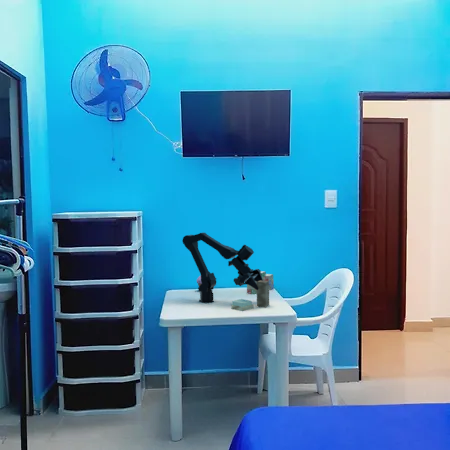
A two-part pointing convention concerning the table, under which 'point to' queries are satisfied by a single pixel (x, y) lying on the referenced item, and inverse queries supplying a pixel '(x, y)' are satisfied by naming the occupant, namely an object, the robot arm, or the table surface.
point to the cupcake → (199, 281)
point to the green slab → (241, 302)
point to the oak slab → (242, 307)
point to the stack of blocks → (265, 278)
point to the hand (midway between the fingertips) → (261, 287)
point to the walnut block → (263, 293)
